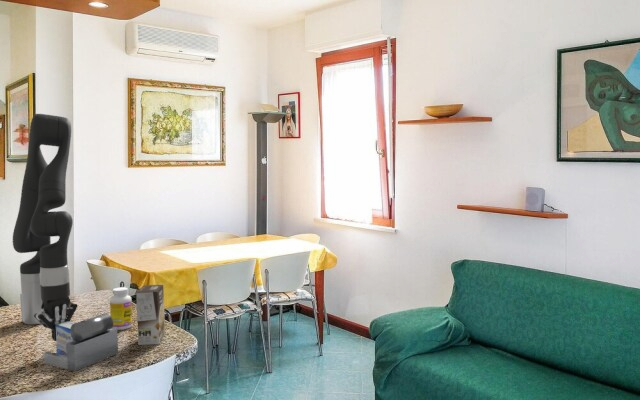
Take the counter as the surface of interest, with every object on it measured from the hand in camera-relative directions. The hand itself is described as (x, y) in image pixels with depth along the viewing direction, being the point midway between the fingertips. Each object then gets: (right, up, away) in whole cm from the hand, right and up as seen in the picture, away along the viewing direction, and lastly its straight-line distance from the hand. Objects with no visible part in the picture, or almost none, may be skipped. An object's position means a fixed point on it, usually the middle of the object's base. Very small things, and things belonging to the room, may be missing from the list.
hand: (57, 340), depth 160 cm
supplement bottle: (+10, -2, +23) cm, 25 cm away
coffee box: (+24, -3, +10) cm, 26 cm away
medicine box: (+5, -4, -2) cm, 6 cm away
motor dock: (+9, -4, -5) cm, 11 cm away
